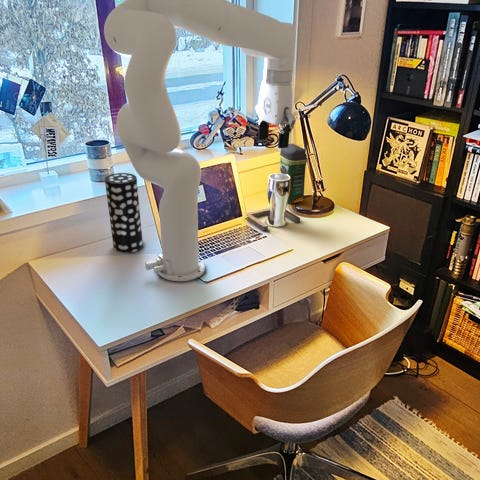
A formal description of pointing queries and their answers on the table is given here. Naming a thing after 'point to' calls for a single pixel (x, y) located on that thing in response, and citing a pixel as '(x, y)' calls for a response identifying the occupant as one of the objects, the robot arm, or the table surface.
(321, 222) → the table surface
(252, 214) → the walnut bay
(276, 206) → the beer glass
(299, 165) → the coffee jar
